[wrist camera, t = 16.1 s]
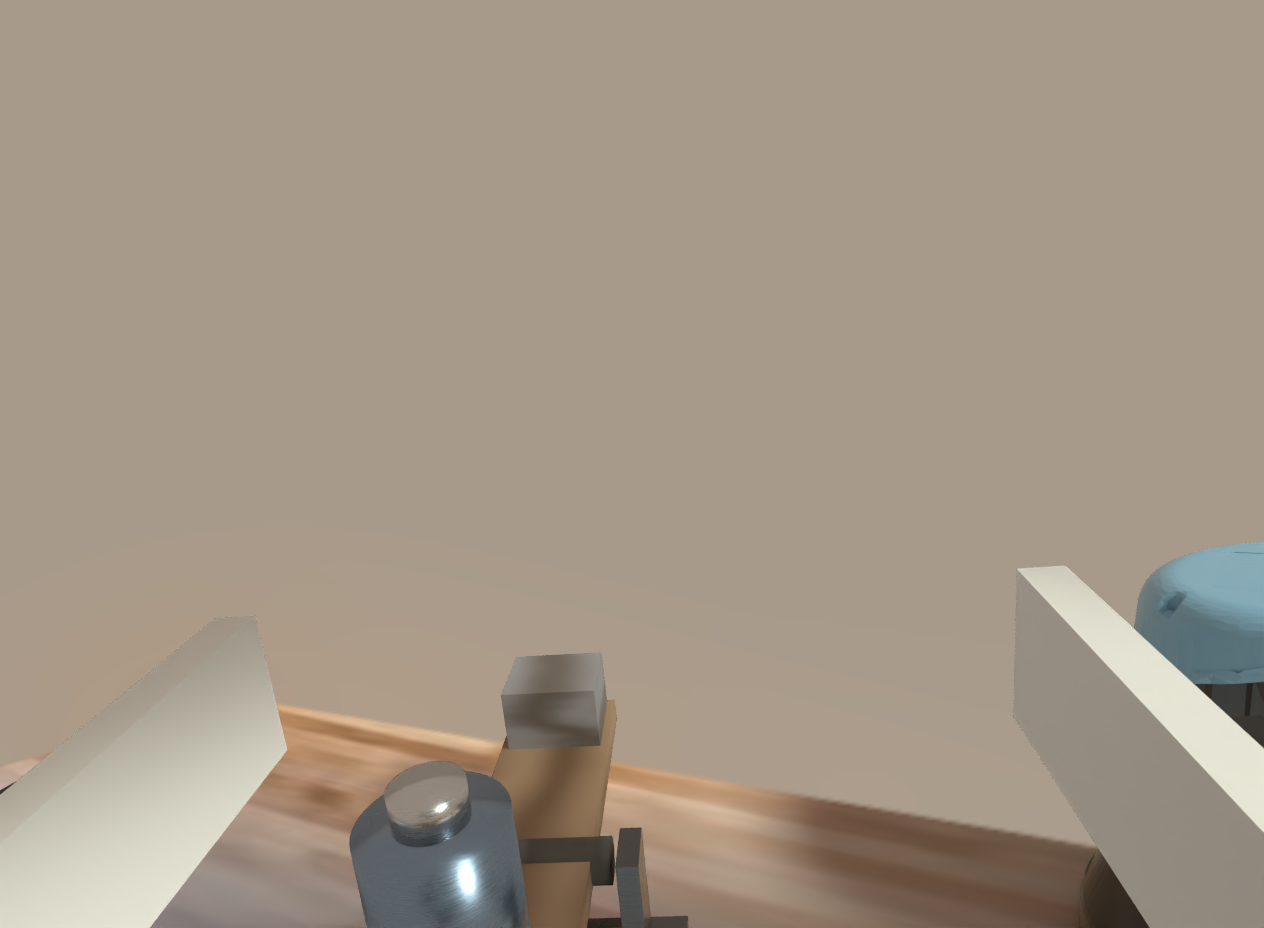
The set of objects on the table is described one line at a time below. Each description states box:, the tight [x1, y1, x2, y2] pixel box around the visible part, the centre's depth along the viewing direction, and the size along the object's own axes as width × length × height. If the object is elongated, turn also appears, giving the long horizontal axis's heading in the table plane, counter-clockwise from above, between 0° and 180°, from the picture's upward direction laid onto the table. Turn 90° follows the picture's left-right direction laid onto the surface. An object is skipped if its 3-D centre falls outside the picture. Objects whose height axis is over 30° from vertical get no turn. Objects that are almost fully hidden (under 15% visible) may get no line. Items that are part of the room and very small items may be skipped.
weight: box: [349, 761, 531, 928], centre depth 33 cm, size 6×6×12 cm
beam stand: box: [587, 828, 689, 928], centre depth 47 cm, size 16×9×10 cm, turn 86°
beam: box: [492, 653, 617, 928], centre depth 45 cm, size 9×30×6 cm, turn 176°
